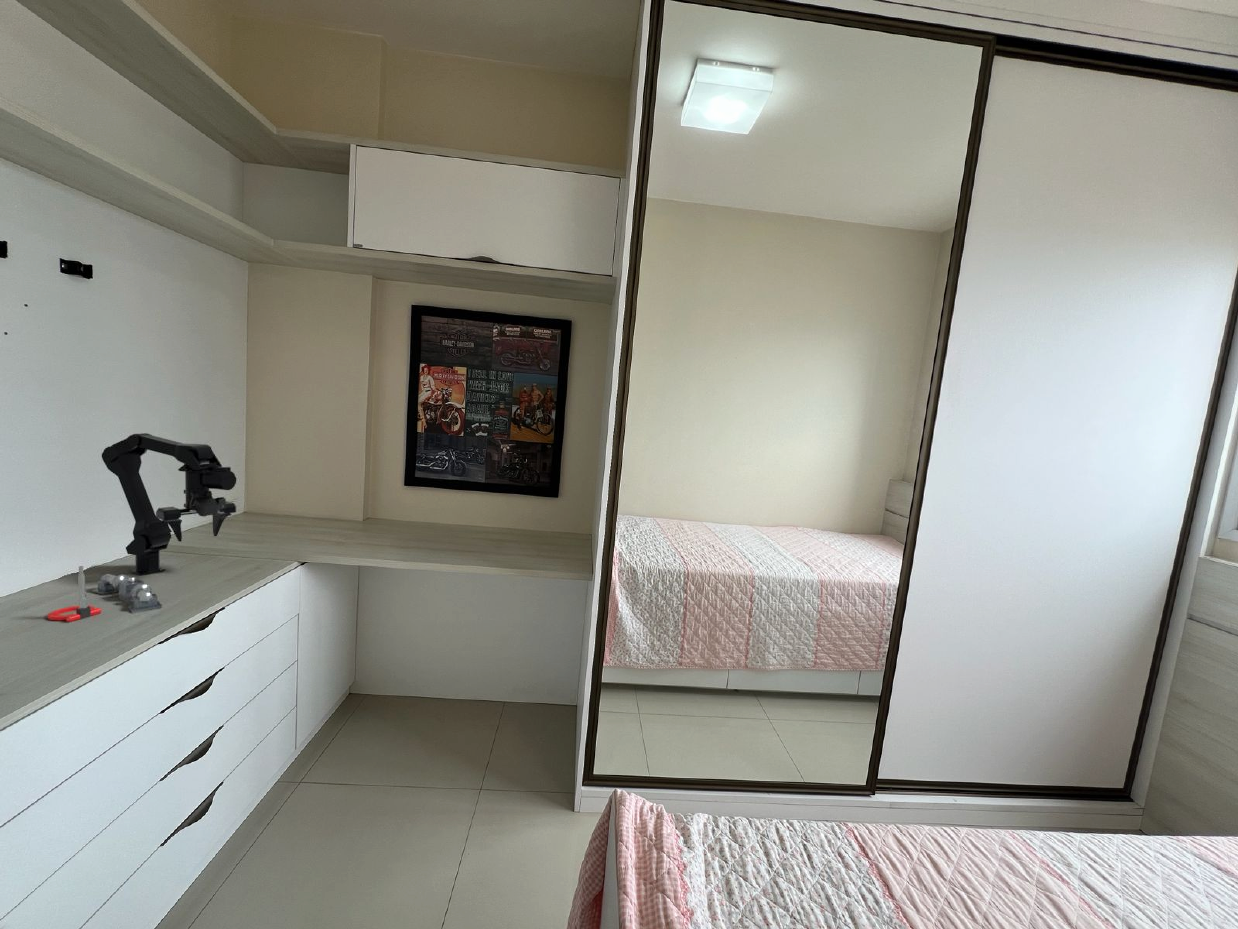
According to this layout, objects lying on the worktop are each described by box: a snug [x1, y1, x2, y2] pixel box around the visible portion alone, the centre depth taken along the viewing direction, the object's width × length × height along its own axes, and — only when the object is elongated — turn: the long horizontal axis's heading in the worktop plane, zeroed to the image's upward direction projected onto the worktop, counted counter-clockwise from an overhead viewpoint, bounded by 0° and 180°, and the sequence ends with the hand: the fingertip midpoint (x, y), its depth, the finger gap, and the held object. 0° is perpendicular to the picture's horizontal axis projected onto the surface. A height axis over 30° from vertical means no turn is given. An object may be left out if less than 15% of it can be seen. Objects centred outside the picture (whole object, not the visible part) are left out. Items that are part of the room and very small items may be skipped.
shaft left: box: [91, 573, 131, 596], centre depth 157 cm, size 7×6×5 cm
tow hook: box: [46, 565, 102, 623], centre depth 141 cm, size 8×13×9 cm
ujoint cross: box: [118, 576, 145, 603], centre depth 154 cm, size 6×4×6 cm, turn 61°
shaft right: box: [128, 583, 163, 614], centre depth 149 cm, size 7×6×5 cm
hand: (198, 538), depth 171 cm, fingers open, 9 cm apart
